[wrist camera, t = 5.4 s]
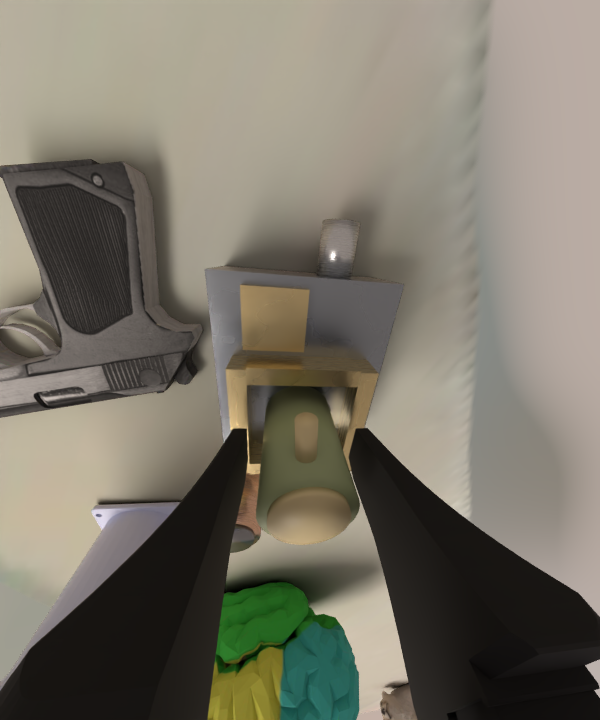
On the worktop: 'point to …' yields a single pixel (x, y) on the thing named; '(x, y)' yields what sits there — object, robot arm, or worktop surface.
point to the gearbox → (300, 337)
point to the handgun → (91, 290)
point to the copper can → (247, 516)
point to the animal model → (398, 704)
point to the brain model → (281, 660)
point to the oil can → (303, 471)
